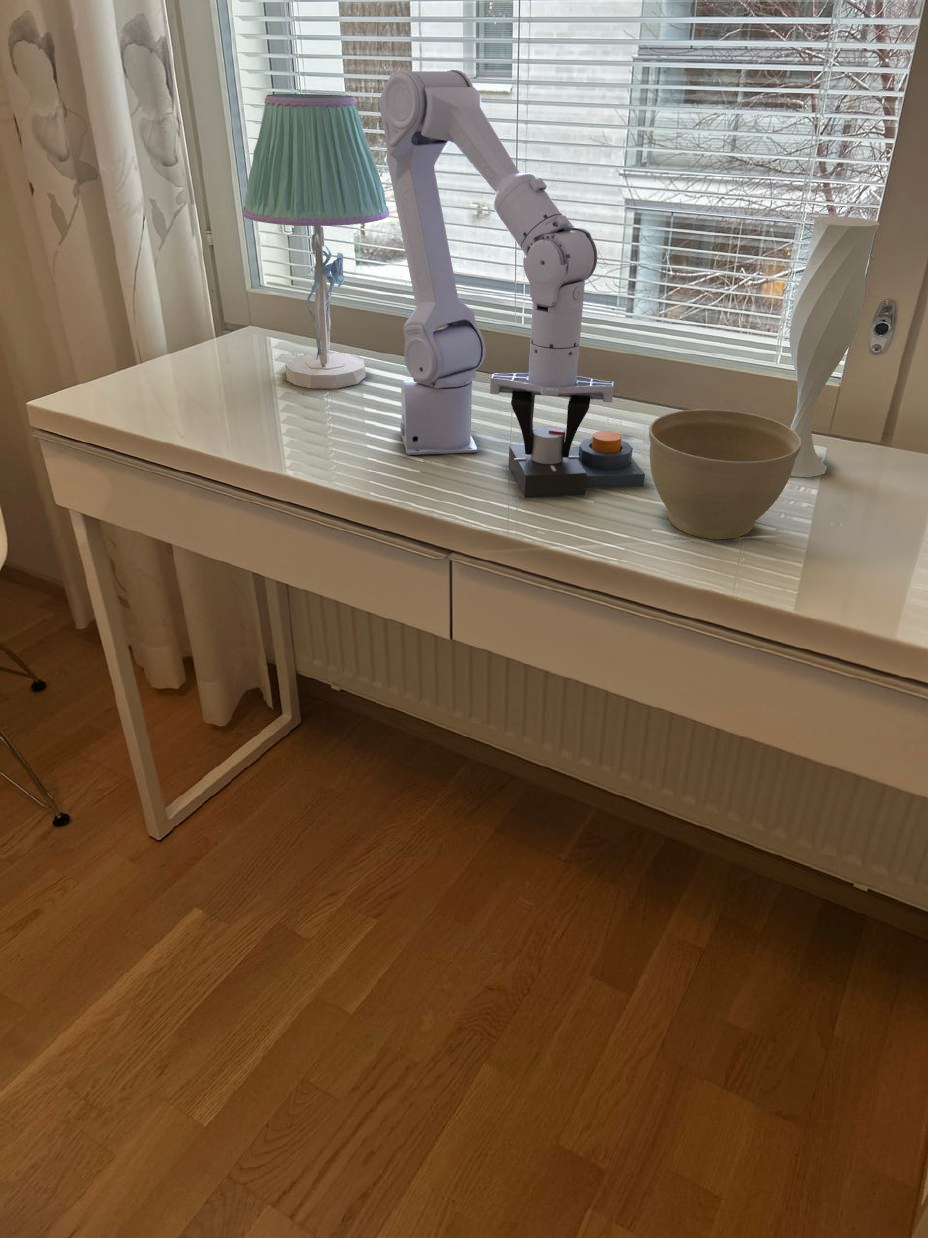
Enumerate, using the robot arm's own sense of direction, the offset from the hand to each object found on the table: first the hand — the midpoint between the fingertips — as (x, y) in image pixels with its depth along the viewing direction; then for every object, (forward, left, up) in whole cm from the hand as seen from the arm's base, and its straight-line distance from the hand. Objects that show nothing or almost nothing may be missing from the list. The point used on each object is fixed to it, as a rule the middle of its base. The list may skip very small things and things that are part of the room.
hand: (547, 453), depth 116 cm
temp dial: (0, 0, -1) cm, 1 cm away
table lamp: (-26, +46, -4) cm, 53 cm away
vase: (+34, +2, -4) cm, 34 cm away
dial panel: (0, 0, -4) cm, 4 cm away
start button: (+8, +2, 0) cm, 8 cm away
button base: (+8, +2, -4) cm, 9 cm away
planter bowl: (+16, -14, -4) cm, 22 cm away
